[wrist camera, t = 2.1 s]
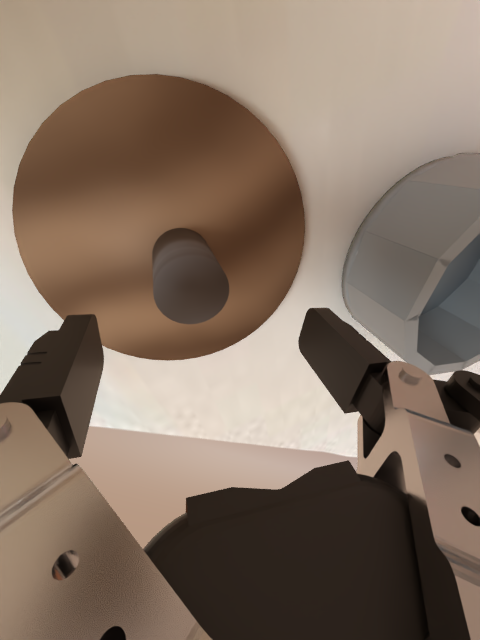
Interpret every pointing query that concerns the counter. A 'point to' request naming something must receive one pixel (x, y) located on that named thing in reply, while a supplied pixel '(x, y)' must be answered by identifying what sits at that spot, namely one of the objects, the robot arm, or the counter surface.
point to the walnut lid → (159, 216)
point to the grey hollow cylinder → (422, 266)
